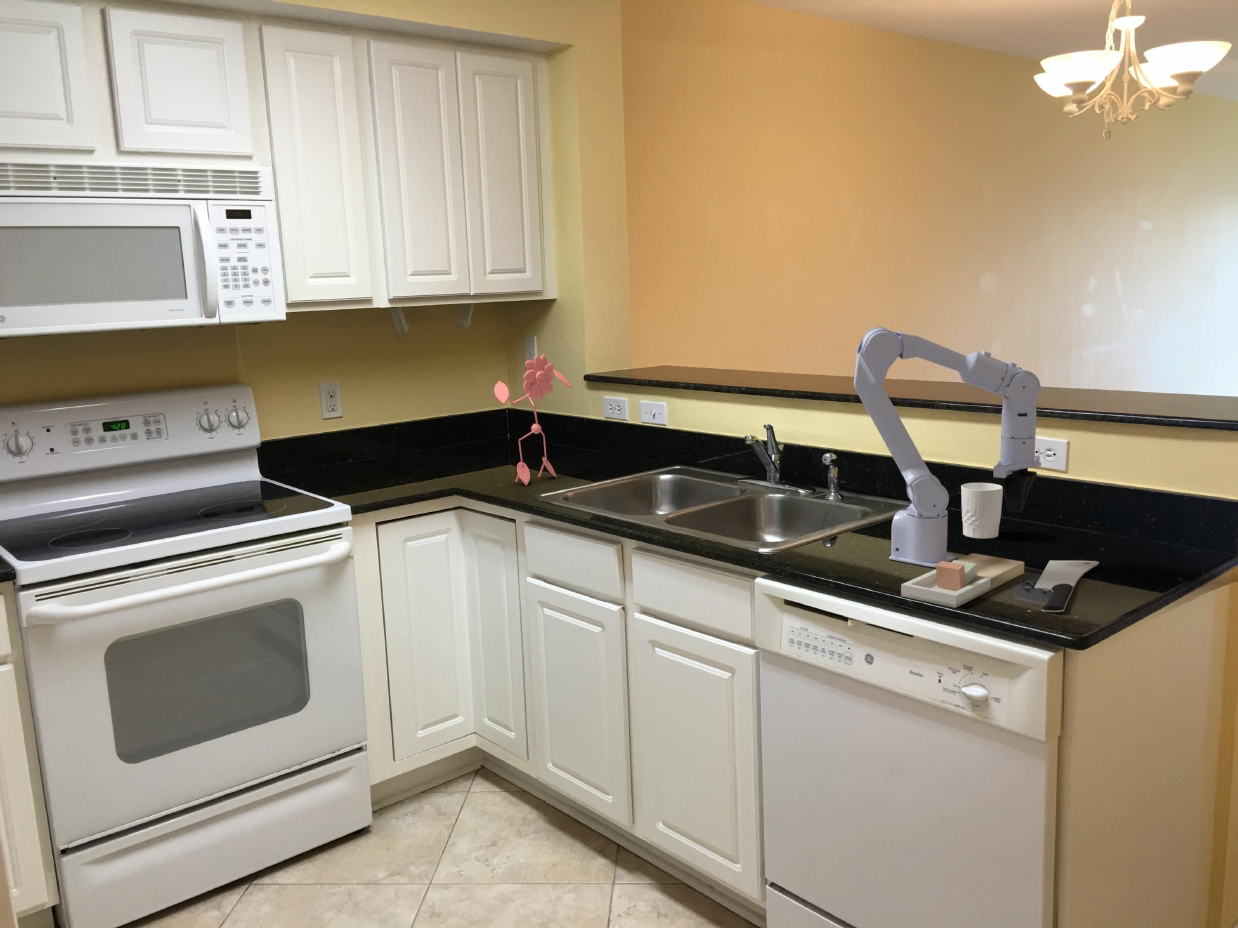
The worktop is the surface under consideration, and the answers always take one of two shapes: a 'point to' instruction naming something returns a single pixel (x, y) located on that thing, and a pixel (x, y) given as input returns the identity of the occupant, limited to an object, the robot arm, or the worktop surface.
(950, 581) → the terracotta tile
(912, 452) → the robot arm
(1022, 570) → the wooden board
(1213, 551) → the worktop surface
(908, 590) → the grey tray
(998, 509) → the white cup
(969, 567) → the sage tile
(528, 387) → the figurine
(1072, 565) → the kitchen cleaver
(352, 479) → the worktop surface
